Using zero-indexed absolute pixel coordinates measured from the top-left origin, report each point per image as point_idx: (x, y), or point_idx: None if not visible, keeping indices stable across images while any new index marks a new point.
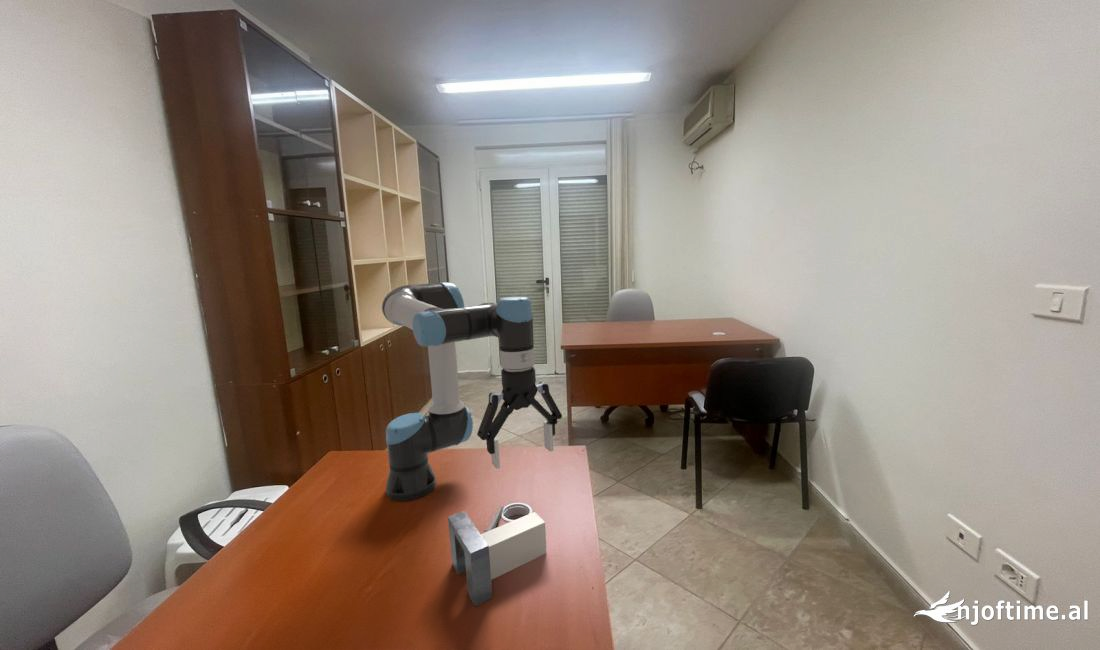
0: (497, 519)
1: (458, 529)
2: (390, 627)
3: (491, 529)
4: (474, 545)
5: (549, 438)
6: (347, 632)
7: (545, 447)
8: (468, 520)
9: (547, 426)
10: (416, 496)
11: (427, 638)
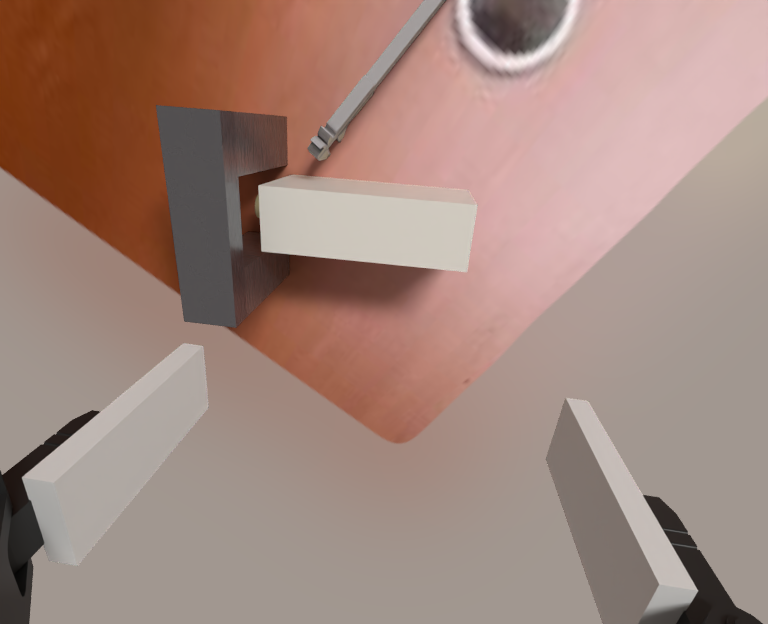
0: (421, 28)
1: (176, 203)
2: (94, 206)
3: (360, 102)
4: (202, 302)
5: (573, 529)
6: (14, 160)
7: (564, 405)
8: (217, 180)
9: (617, 612)
10: None
11: (156, 274)
